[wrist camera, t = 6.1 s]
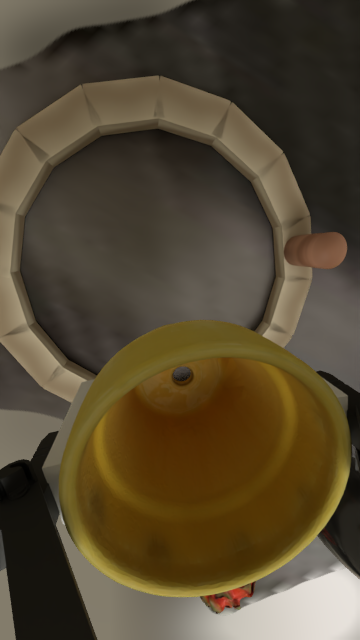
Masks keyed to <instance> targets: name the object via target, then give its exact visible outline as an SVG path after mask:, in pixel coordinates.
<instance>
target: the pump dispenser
mask: <svg viewBox="0 0 360 640" xmlns="http://www.w3.org/2000/svg"><path fill="white" fill-rule="evenodd" d="M317 536H318V537H319V539H320V540H321V541H322V542H323V544H324V545H325V546H326V547H327V548H328V549H329V550H330V551H331V552H332V554H333V555H334V556H335V557H336V558H337V559H338V560H339V561H340V562H341V563H342V564H343V565H344V566H345V567H346V568H347V569H349V570H350V571H351V572H352V573H353V574H354V575H355V576H357V577H358V578H359V579H360V473H359V471H357V470H355V458H354V457H351V467H350V473H349V477H348V481H347V484H346V487H345V490H344V493H343V496H342V498H341V500H340V502H339V504H338V506H337V508H336V510H335V512H334V513H333V515H332V516H331V518H330V519H329V521H328V523H327V524H326V525H325V527H324V528H323V529H322V530H321V531H320V533H319V534H318V535H317Z"/></svg>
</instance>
